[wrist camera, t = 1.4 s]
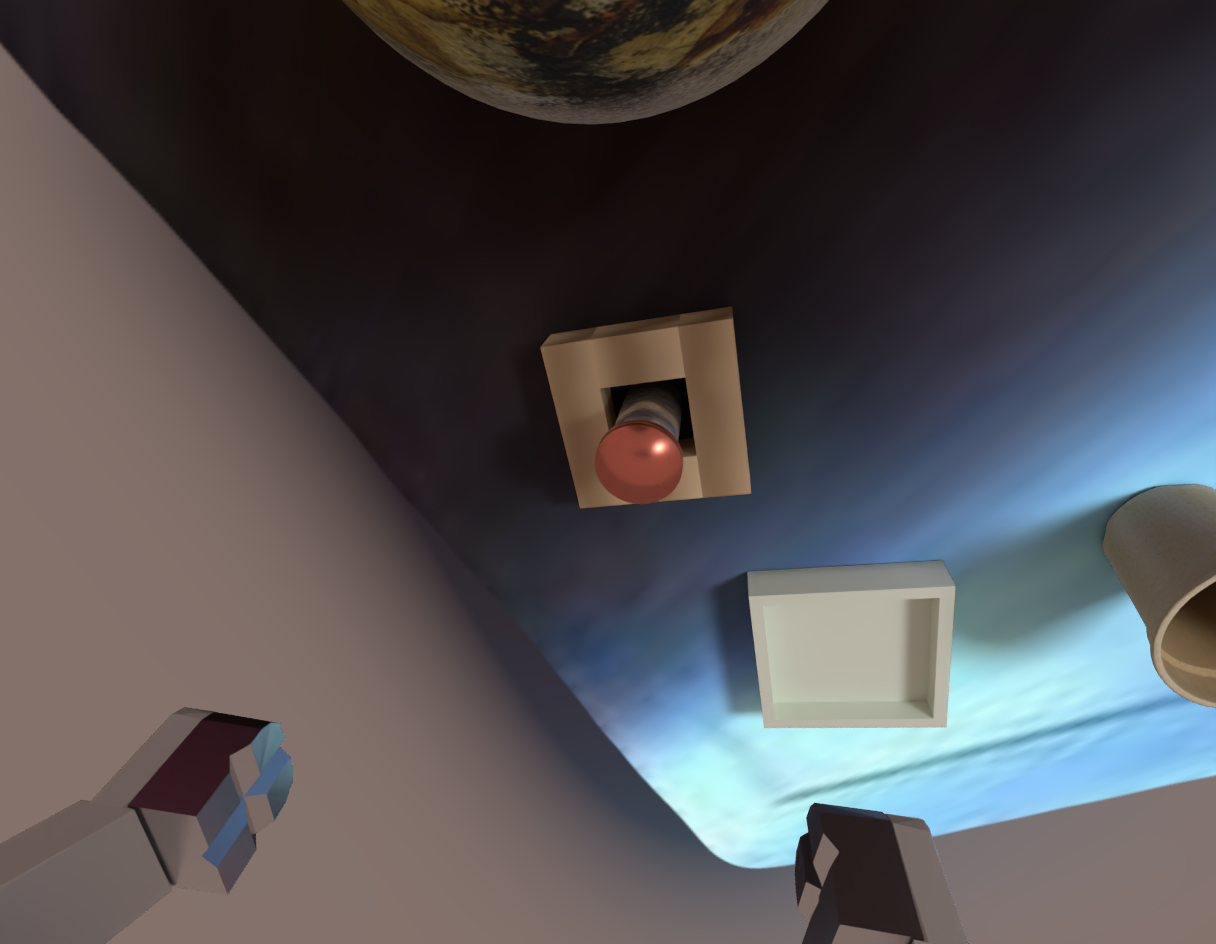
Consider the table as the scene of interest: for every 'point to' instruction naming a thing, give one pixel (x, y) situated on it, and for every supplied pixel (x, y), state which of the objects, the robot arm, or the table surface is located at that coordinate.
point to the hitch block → (647, 355)
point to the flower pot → (1172, 581)
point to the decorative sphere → (586, 49)
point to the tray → (853, 645)
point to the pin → (643, 445)
